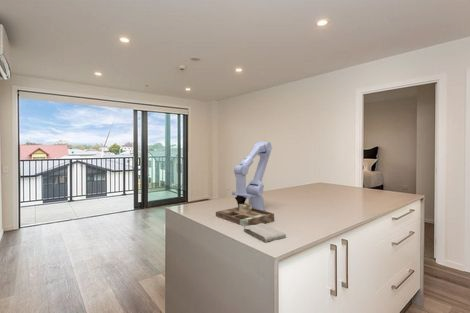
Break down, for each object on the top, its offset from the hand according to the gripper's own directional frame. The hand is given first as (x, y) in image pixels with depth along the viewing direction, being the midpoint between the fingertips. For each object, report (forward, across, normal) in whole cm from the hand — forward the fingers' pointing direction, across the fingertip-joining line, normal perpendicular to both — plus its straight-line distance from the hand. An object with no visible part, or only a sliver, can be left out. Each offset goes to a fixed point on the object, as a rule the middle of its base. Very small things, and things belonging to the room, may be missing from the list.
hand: (240, 208), depth 145 cm
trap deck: (+3, +8, -4) cm, 9 cm away
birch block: (+1, +4, 0) cm, 4 cm away
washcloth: (+4, +32, -14) cm, 35 cm away
